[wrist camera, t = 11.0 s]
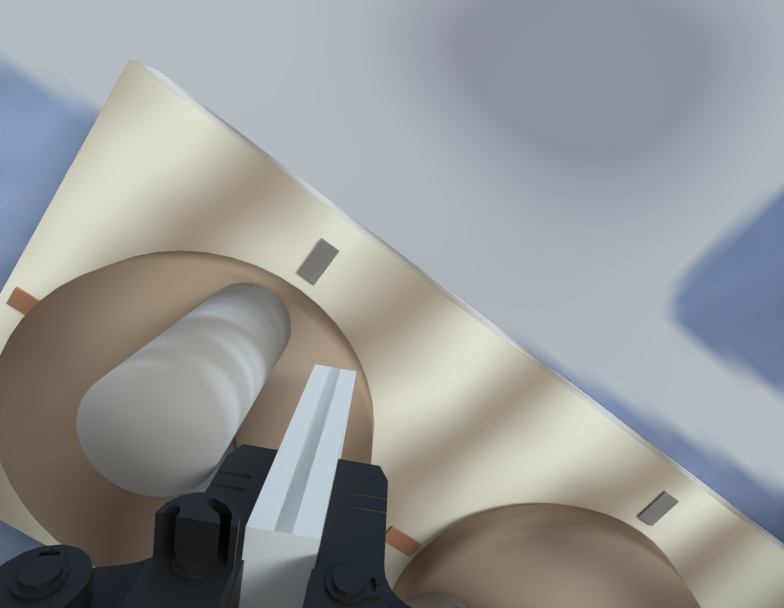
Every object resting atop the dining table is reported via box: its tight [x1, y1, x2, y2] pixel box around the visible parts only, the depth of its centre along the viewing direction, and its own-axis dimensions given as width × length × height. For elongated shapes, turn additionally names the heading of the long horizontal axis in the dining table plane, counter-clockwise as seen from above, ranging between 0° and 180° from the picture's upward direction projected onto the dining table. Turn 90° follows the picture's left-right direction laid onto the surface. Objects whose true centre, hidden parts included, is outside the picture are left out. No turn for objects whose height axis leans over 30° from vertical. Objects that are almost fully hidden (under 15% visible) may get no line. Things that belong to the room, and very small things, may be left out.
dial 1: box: [0, 251, 374, 567], centre depth 16 cm, size 14×14×9 cm
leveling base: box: [0, 60, 784, 608], centre depth 22 cm, size 36×20×4 cm, turn 53°
